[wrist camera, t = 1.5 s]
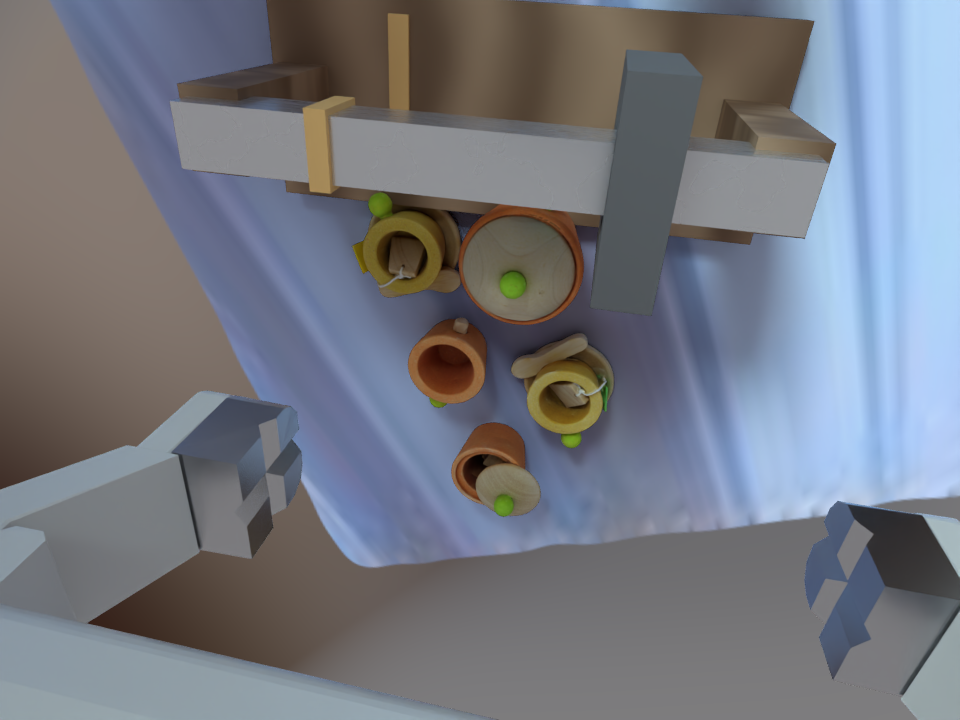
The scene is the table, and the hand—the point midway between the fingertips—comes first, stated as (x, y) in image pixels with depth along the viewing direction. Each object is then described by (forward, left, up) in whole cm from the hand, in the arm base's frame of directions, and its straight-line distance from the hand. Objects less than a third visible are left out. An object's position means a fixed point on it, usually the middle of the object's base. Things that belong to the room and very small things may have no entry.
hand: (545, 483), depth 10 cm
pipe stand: (0, -5, -33) cm, 34 cm away
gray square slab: (0, +2, -26) cm, 26 cm away
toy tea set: (+16, -5, -34) cm, 38 cm away
